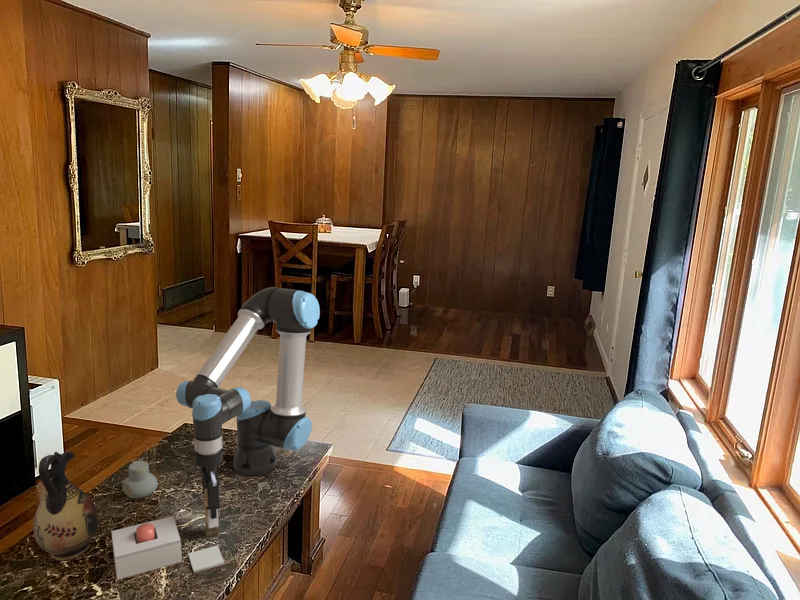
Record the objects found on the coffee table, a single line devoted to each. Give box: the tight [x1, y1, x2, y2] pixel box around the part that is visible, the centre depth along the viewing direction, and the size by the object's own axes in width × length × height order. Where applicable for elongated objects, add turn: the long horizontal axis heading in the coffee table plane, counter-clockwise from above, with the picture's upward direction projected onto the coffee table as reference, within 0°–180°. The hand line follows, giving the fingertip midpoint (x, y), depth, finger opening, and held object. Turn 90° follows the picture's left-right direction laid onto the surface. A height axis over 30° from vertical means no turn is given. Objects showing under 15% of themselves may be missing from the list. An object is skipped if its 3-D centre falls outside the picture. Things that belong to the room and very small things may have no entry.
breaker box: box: [111, 516, 183, 581], centre depth 163 cm, size 16×12×7 cm
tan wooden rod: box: [203, 488, 220, 538], centre depth 173 cm, size 4×4×14 cm
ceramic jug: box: [33, 451, 99, 562], centre depth 161 cm, size 17×15×30 cm
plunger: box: [136, 522, 155, 544], centre depth 162 cm, size 4×4×5 cm
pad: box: [187, 544, 225, 574], centre depth 164 cm, size 8×8×1 cm
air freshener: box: [121, 460, 159, 499], centre depth 192 cm, size 11×8×10 cm
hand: (211, 522), depth 174 cm, fingers closed on tan wooden rod, 3 cm apart
